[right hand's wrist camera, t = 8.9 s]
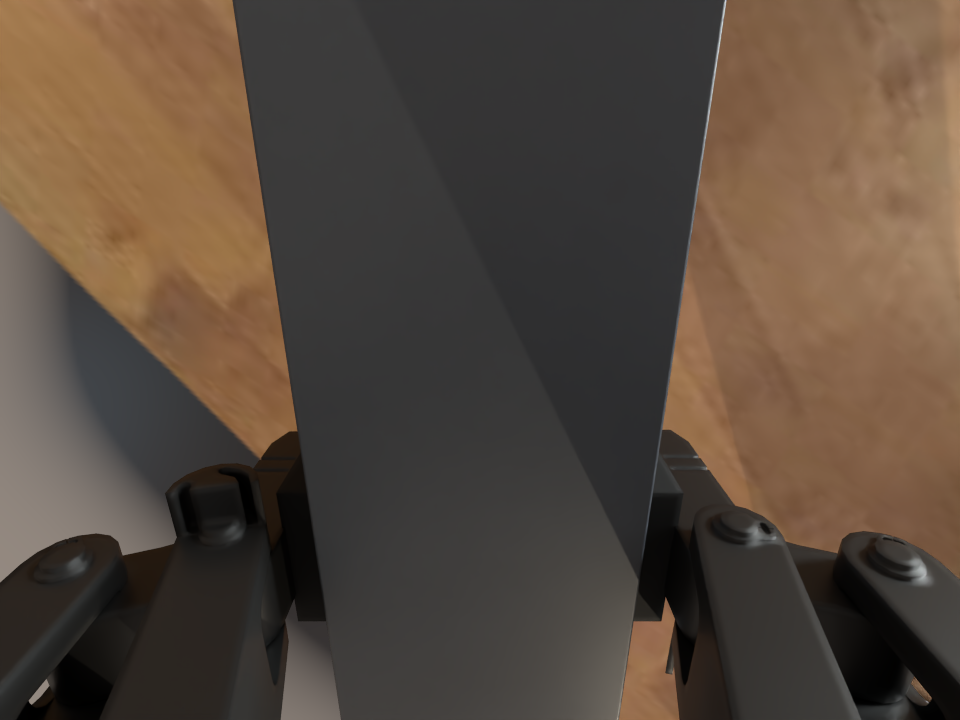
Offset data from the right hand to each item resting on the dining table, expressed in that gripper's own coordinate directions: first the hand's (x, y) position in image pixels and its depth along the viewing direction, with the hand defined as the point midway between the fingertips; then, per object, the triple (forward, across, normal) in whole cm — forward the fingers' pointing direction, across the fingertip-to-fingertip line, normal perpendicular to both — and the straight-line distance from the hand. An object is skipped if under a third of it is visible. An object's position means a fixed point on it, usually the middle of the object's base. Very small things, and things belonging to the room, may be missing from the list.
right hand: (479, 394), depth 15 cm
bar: (0, 0, -28) cm, 28 cm away
